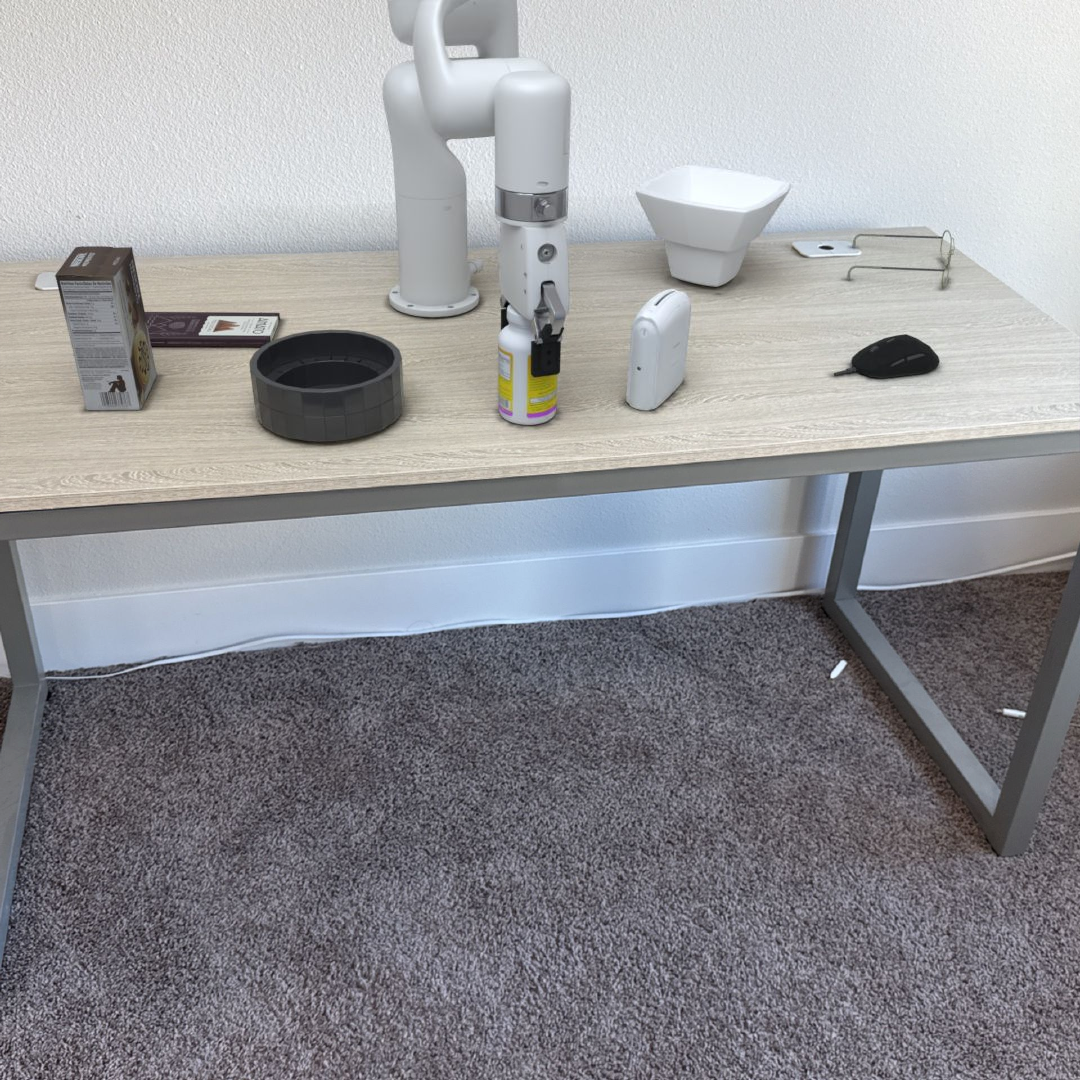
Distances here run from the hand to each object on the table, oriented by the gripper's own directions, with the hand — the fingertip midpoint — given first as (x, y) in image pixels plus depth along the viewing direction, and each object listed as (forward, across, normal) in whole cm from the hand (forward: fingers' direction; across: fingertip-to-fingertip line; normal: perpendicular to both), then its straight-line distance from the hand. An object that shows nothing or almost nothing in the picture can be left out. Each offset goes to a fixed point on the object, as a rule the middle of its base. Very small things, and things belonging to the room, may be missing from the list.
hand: (529, 357), depth 121 cm
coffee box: (+7, +20, +43) cm, 48 cm away
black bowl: (+7, +8, +21) cm, 24 cm away
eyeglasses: (+7, +29, -72) cm, 78 cm away
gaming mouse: (+7, -2, -47) cm, 48 cm away
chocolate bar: (+7, +35, +32) cm, 48 cm away
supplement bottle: (+7, +1, 0) cm, 7 cm away
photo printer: (+7, +1, -16) cm, 18 cm away
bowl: (+7, +33, -40) cm, 53 cm away
